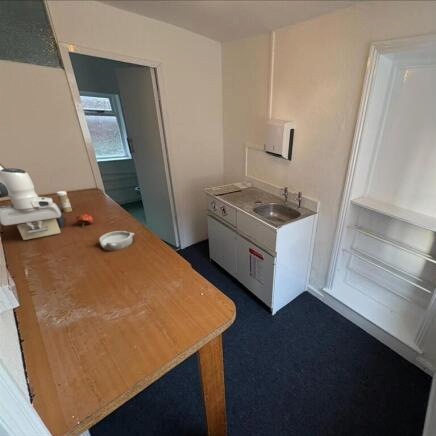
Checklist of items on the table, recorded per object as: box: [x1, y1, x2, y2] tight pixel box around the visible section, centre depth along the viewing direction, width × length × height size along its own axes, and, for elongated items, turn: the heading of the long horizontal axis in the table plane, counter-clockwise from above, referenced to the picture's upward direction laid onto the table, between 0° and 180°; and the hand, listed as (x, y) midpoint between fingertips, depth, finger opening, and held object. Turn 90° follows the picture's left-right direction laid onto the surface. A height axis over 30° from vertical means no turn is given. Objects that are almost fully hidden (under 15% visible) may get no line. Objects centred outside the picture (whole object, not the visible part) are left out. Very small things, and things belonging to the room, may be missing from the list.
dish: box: [98, 230, 135, 252], centre depth 117 cm, size 14×14×5 cm
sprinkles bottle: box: [56, 190, 73, 213], centre depth 150 cm, size 5×5×14 cm
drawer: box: [16, 218, 61, 241], centre depth 122 cm, size 19×14×8 cm
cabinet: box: [19, 203, 65, 229], centre depth 131 cm, size 16×15×10 cm
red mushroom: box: [75, 212, 94, 228], centre depth 134 cm, size 7×7×10 cm
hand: (37, 228), depth 116 cm, fingers closed
